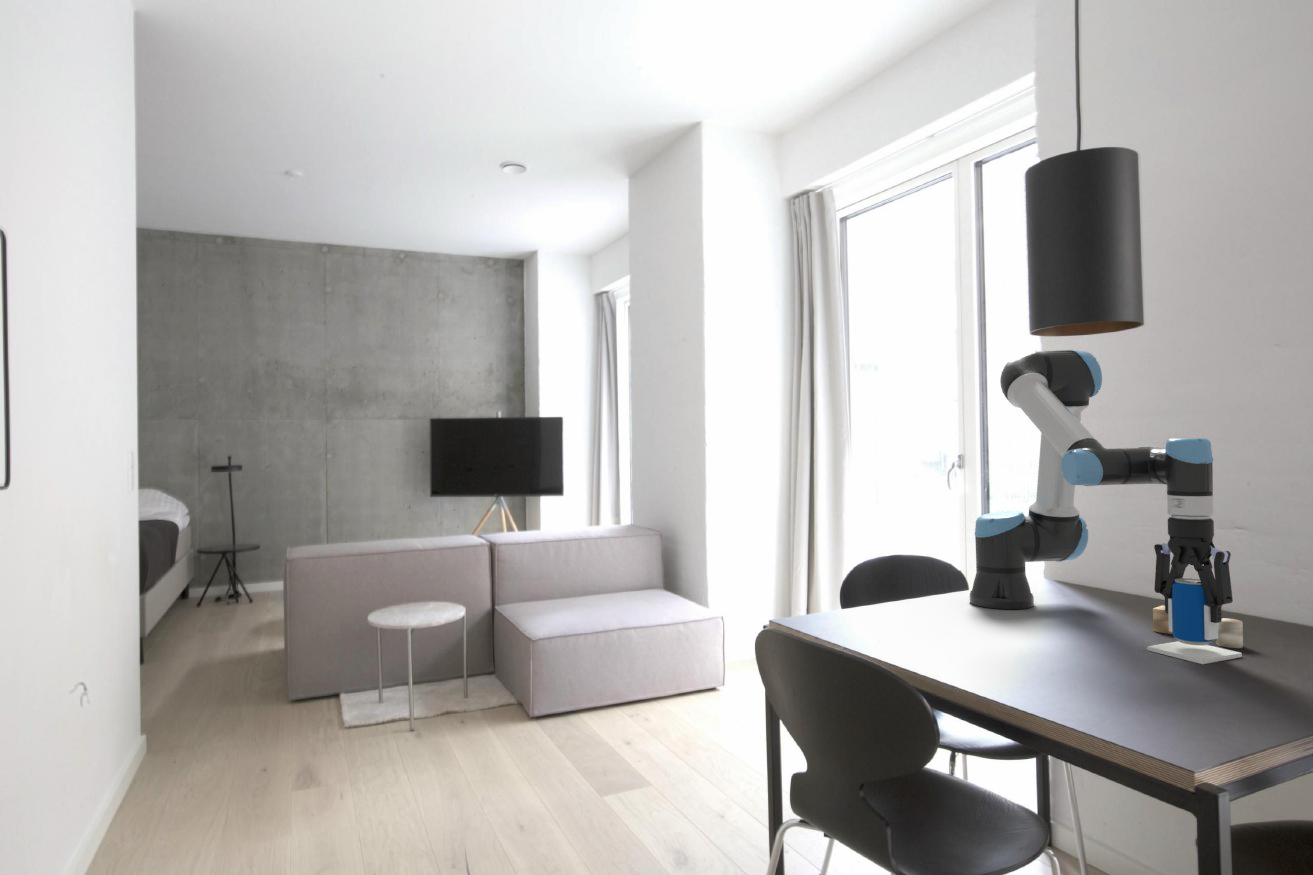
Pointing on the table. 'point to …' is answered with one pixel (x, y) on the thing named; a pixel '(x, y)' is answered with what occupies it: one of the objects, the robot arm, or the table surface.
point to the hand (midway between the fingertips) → (1193, 634)
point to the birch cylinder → (1230, 633)
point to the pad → (1194, 652)
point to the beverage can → (1189, 611)
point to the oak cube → (1161, 620)
